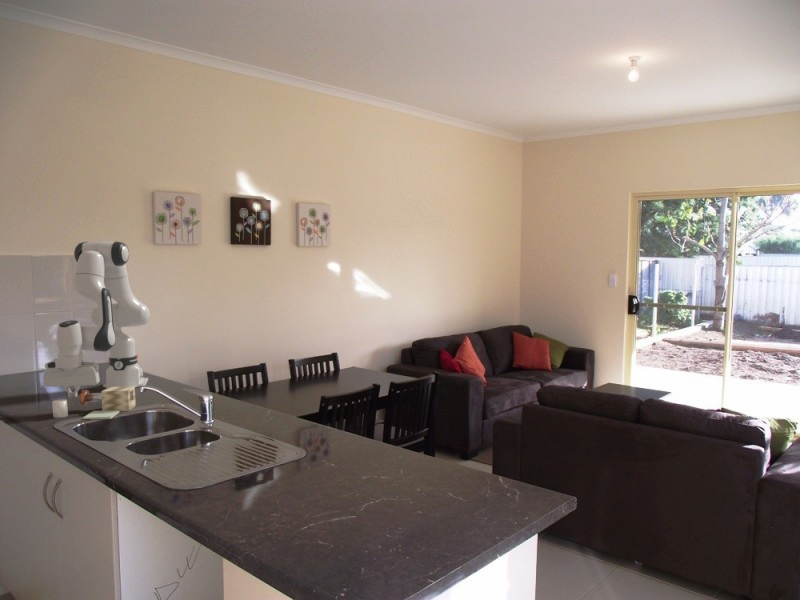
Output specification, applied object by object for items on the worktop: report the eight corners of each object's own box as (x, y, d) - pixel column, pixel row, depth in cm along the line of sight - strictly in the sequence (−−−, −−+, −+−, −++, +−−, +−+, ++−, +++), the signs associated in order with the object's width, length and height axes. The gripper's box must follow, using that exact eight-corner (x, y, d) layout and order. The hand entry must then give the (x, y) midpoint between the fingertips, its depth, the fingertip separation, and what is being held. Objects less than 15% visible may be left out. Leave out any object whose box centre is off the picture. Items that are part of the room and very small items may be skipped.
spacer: (56, 414, 242) (55, 399, 241) (70, 414, 242) (69, 398, 242) (50, 418, 237) (49, 402, 236) (64, 417, 237) (63, 402, 237)
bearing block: (102, 412, 245) (101, 391, 244) (110, 406, 252) (109, 386, 252) (128, 411, 245) (127, 390, 245) (135, 406, 253) (134, 386, 253)
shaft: (79, 407, 245) (79, 392, 244) (86, 403, 251) (85, 388, 250) (111, 406, 246) (110, 391, 245) (116, 402, 252) (115, 387, 251)
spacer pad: (93, 412, 243) (93, 410, 243) (120, 412, 244) (119, 410, 244) (82, 419, 233) (82, 417, 233) (110, 418, 234) (110, 416, 234)
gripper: (101, 360, 250) (103, 394, 251) (48, 361, 248) (50, 395, 249) (94, 362, 244) (96, 397, 245) (40, 364, 242) (42, 399, 243)
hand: (72, 396), depth 247 cm, fingers closed
